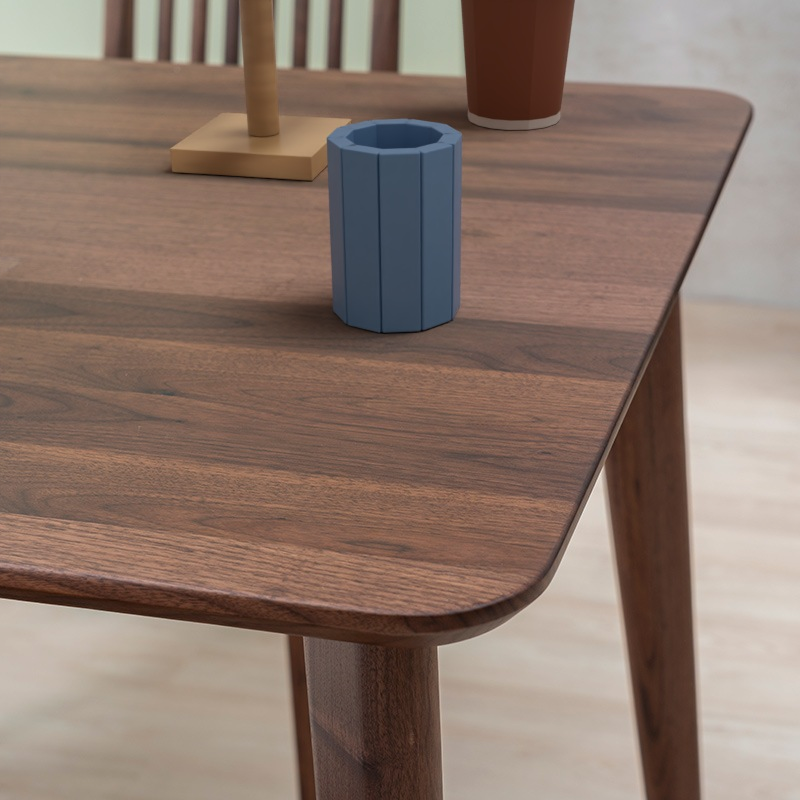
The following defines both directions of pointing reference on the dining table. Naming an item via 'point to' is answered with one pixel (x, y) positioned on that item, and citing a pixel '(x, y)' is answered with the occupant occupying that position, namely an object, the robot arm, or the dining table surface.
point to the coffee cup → (515, 61)
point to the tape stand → (258, 120)
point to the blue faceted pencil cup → (395, 223)
